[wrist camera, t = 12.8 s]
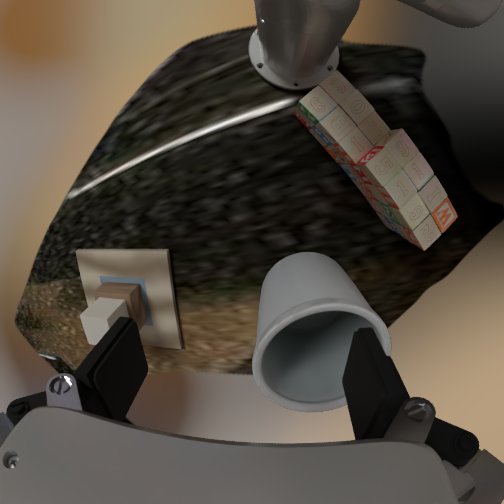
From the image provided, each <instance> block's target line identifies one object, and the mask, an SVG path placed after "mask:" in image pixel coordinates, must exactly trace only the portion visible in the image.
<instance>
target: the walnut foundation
mask: <svg viewBox="0 0 504 504" xmlns="http://www.w3.org/2000/svg"><path fill="white" fill-rule="evenodd" d="M93 293H94V297H95V301H96V300H97V299H98V298H99V297H101V298H111V299H121V300H125V302H126V306H127V311H128V315H129V317H130V318H133V320H134V321H135V322H136V323H137V325H138V329H139V331H140V330H141V328H142V327H143V325H144V324H145V323H146V321H147V319H146V314H145V309H144V304H143V299H142V294H141V288H140V284H137V283H119V282H104V283H103V284H102V285H100V286H99V287H98V288H97V289H96V290H94V291H93Z"/></svg>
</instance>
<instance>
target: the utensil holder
mask: <svg viewBox="0 0 504 504" xmlns="http://www.w3.org/2000/svg"><path fill="white" fill-rule="evenodd" d="M366 327H372V328H373V329H374V331H375V333H376V335H377V337H378V339H379V341H380V343H381V345H382V347H383V349H384V351H385V353H386V355H387V356H390V355H391V338H390V334H389V331H388V329H387V327H386V325H385V323H384V322H383V321H382V319H381V318H380V317H379V316H378V315H377V314H376V313H375V312H374V311H373V310H372V309H371V307H370V306H369V304H368V303H367V301H366V300H365V298H364V297H363V296H362V294H361V293H360V291H359V290H358V288H357V287H356V286H355V284H354V283H353V282H352V280H351V279H350V278H349V276H348V275H347V274H346V273H345V271H344V270H343V269H342V268H341V267H340V265H339V264H338V263H336V262H335V261H334V260H333V259H331V258H330V257H328V256H325V255H323V254H319V253H313V252H302V253H296V254H293V255H290V256H288V257H286V258H284V259H282V260H281V261H279V262H278V263H276V264H275V265H274V266H273V267H272V268H271V270H270V271H269V272H268V274H267V276H266V277H265V280H264V282H263V285H262V289H261V297H260V305H259V315H258V327H257V342H256V346H255V349H254V353H253V359H252V369H253V376H254V379H255V382H256V384H257V386H258V387H259V389H260V390H261V392H262V393H263V394H264V395H265V396H266V397H267V398H268V399H270V400H271V401H273V402H274V403H276V404H278V405H280V406H282V407H284V408H287V409H290V410H295V411H301V412H322V411H329V410H332V409H336V408H340V407H343V406H345V405H347V401H346V397H345V393H344V389H343V385H342V378H343V374H344V370H345V366H346V362H347V358H348V354H349V350H350V346H351V342H352V338H353V334H354V332H355V331H358V329H359V328H366Z"/></svg>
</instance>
